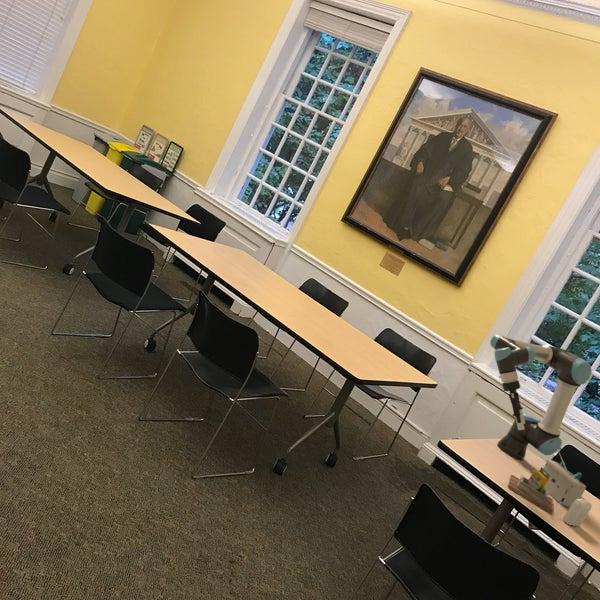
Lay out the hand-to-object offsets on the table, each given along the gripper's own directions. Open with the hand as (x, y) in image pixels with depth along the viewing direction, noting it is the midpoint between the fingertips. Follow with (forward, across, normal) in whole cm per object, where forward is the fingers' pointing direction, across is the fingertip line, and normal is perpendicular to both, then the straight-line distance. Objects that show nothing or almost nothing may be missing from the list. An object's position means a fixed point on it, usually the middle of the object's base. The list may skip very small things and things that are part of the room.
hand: (521, 426), depth 268 cm
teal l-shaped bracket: (+41, -56, +8) cm, 70 cm away
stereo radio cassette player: (+38, -20, +4) cm, 43 cm away
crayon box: (+29, +2, -3) cm, 29 cm away
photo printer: (+43, +7, +10) cm, 45 cm away
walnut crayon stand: (+30, +2, -4) cm, 31 cm away
